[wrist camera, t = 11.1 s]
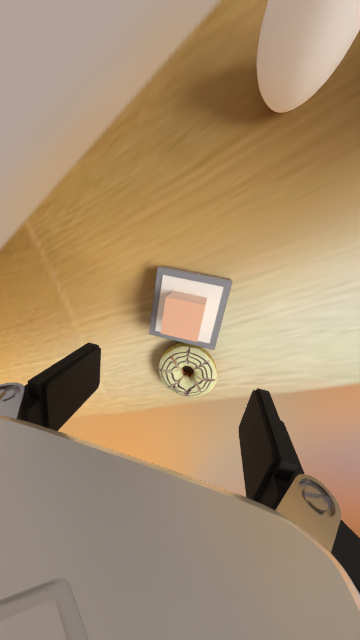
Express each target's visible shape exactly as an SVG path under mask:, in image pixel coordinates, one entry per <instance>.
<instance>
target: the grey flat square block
mask: <svg viewBox="0 0 360 640" xmlns="http://www.w3.org/2000/svg"><path fill="white" fill-rule="evenodd" d="M231 285H232V280H231V279H229V278H224V277H219V276H214V275H208V274H203V273H198V272H193V271H188V270H183V269H177V268H172V267H167V266H160V267H158V269H157V276H156V284H155V292H154V300H153V307H152V315H151V323H150V331H149V334H151V335H155V336H159V337H163V338H167V339H171V340H175V341H179V342H183V343H188V344H192V345H196V346H200V347H204V348H208V349H212V350H214V349H215V345H216V342H217V338H218V334H219V330H220V327H221V323H222V319H223V315H224V311H225V308H226V304H227V300H228V296H229V292H230V289H231ZM174 291H177V292H182V293H187V294H192V295H197V296H201V297H206V298H207V302H206V306H205V311H204V315H203V320H202V324H201V328H200V333H199V337H198V341H197V342H194V341H190V340H186V339H182V338H178V337H174V336H169V335H165V334H161V326H162V319H163V313H164V306H165V299H166V296H168V295H169V294H171V293H172V292H174Z"/></svg>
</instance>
